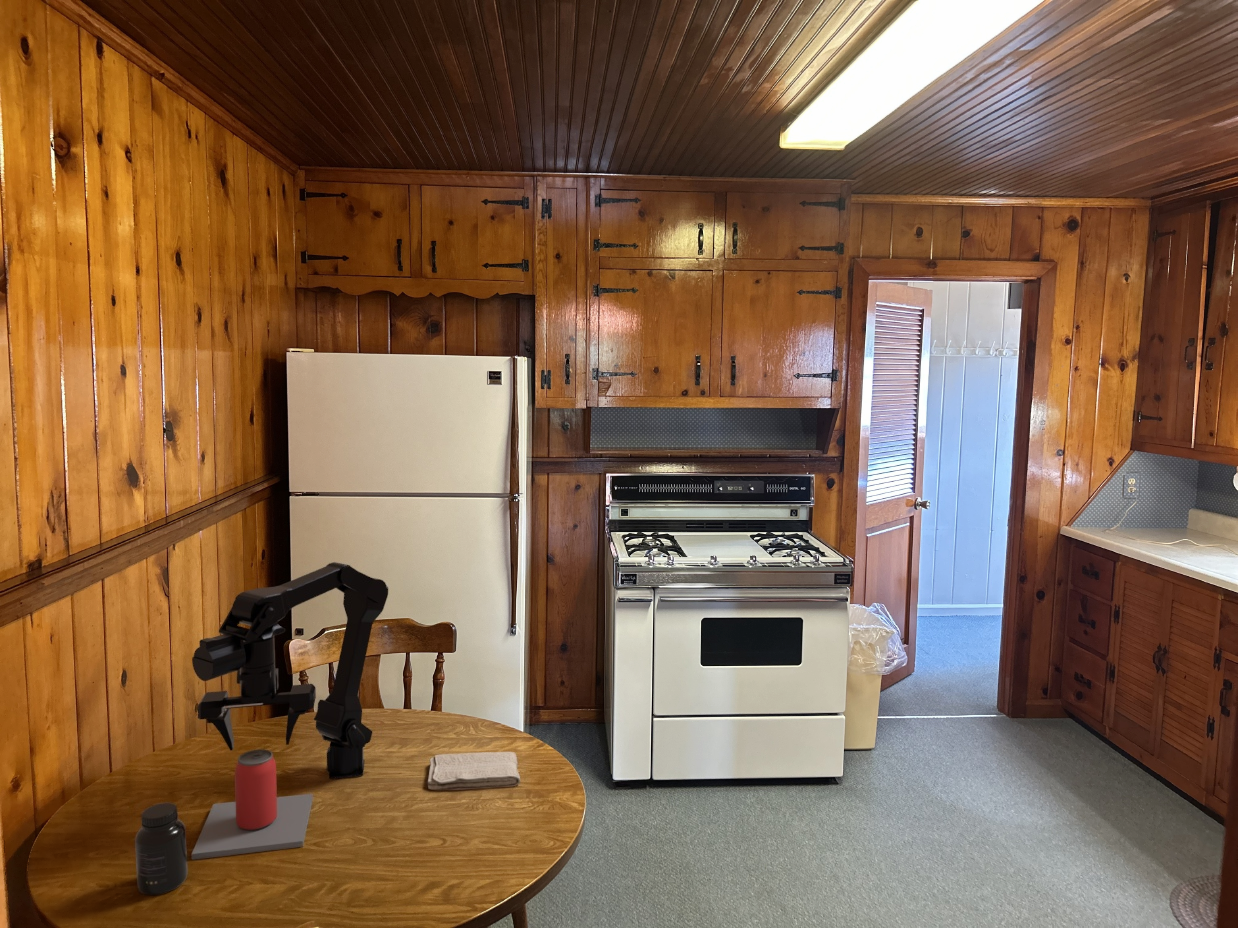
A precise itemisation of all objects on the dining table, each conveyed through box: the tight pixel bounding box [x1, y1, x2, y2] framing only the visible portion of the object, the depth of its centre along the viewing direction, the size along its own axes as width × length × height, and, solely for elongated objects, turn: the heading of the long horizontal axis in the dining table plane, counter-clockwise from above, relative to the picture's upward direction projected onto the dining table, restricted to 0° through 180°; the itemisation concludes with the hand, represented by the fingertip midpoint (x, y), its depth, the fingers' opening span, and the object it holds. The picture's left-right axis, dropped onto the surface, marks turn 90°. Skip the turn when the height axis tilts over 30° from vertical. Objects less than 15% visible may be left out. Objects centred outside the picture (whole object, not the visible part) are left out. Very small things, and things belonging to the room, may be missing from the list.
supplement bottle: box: [134, 802, 188, 896], centre depth 124 cm, size 7×7×12 cm
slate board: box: [191, 793, 314, 861], centre depth 141 cm, size 17×16×1 cm
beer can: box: [234, 748, 278, 830], centre depth 140 cm, size 7×7×12 cm
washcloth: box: [427, 751, 521, 791], centre depth 162 cm, size 12×18×3 cm, turn 101°
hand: (260, 746), depth 144 cm, fingers open, 9 cm apart
